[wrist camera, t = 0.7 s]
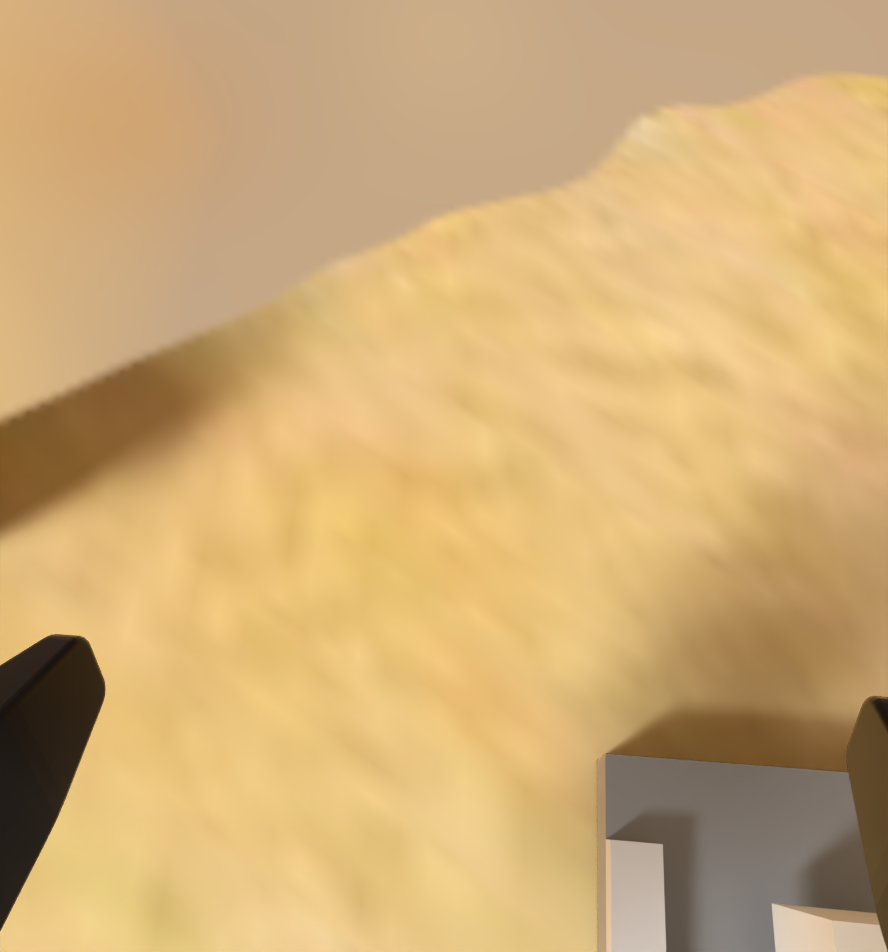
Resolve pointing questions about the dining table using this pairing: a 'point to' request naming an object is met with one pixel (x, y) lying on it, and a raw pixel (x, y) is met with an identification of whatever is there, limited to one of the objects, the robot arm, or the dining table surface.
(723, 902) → the fader console
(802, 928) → the fader tab
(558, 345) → the dining table surface
